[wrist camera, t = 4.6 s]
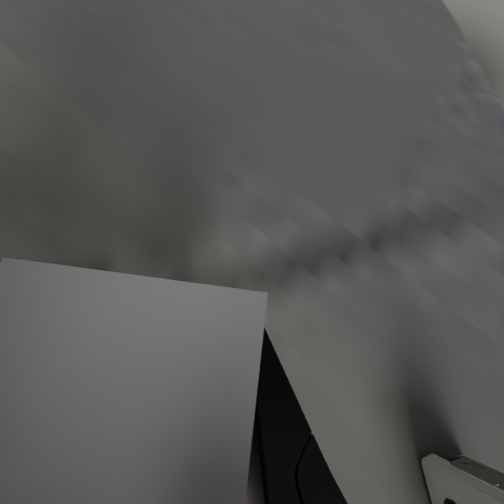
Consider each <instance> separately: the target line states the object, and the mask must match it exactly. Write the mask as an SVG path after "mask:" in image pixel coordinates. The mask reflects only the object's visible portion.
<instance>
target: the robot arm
mask: <svg viewBox="0 0 504 504" xmlns="http://www.w3.org/2000/svg"><path fill="white" fill-rule="evenodd" d="M311 433H312V431H311V429H310V426H309V424H308V422H307V420H306V418H305V415H304V413H303V411H302V409H301V407H300V404H299V402H298V400H297V398H296V396H295V393H294V391H293V389H292V387H291V385H290V382H289V380H288V378H287V376H286V374H285V371H284V369H283V367H282V365H281V363H280V360H279V358H278V356H277V354H276V352H275V349H274V347H273V345H272V343H271V341H270V338H269V336H268V334H267V332H266V330H265V328H264V333H263V342H262V351H261V361H260V370H259V379H258V388H257V397H256V406H255V415H254V425H253V434H252V443H251V452H250V461H249V470H248V479H247V488H246V498H245V504H347V502H346V500H345V498H344V496H343V494H342V492H341V491H340V489H339V487H338V485H337V483H336V481H335V479H334V477H333V475H332V473H331V471H330V469H329V467H328V465H327V463H326V461H325V459H324V457H323V455H322V453H321V450H320V448H319V446H318V444H317V442H316V439H315V437H314V435H313V434H311Z"/></svg>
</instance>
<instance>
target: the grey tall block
mask: <svg viewBox="0 0 504 504" xmlns="http://www.w3.org/2000/svg"><path fill="white" fill-rule="evenodd" d="M267 297H268V293H266V292H259V291H251V290H244V289H236V288H229V287H221V286H214V285H207V284H199V283H192V282H184V281H177V280H170V279H162V278H155V277H147V276H140V275H133V274H125V273H118V272H110V271H103V270H96V269H88V268H81V267H73V266H66V265H59V264H51V263H44V262H36V261H29V260H22V259H14V258H7V257H3V258H2V260H1V262H0V504H245V498H246V488H247V479H248V470H249V461H250V452H251V443H252V434H253V425H254V415H255V406H256V397H257V388H258V379H259V370H260V361H261V351H262V342H263V333H264V324H265V315H266V306H267Z"/></svg>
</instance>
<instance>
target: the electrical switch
mask: <svg viewBox="0 0 504 504" xmlns="http://www.w3.org/2000/svg"><path fill="white" fill-rule="evenodd" d="M421 464H422V468H423V472H424V476H425V479H426V483H427V487H428V491H429V494H430V498H431V502H432V504H504V473H501V472H499V471H497V470H494V469H492V468H490V467H488V466H485V465H483V464H481V463H479V462H476V461H474V460H472V459H469V458H467V457H465V456H463V457H461V458H459V459H457V460H455V461H447V460H445V459H443V458H441V457H439V456H437V455H435V454H433V453H432V454H429V455H427V456H425V457H424V458H422V462H421ZM498 483H499V484H500V485H499V487H498V486H494V485H495V484H498Z"/></svg>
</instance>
